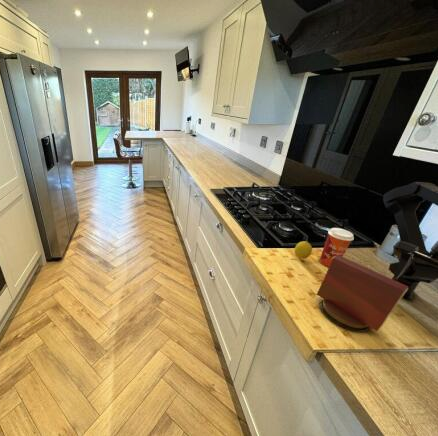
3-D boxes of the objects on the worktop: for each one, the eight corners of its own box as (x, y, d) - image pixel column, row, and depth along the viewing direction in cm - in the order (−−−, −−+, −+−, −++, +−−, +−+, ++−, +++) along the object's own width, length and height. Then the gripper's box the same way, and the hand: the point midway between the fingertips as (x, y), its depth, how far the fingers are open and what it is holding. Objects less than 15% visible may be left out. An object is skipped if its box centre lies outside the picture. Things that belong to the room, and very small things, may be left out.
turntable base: (335, 296, 76) (336, 294, 75) (378, 324, 66) (379, 322, 66) (311, 306, 72) (312, 303, 71) (353, 337, 62) (354, 335, 62)
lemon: (288, 256, 96) (294, 239, 92) (298, 253, 97) (304, 237, 94) (301, 263, 91) (307, 246, 87) (311, 261, 93) (318, 244, 89)
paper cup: (320, 267, 89) (335, 235, 83) (313, 256, 96) (325, 225, 90) (344, 271, 88) (360, 238, 82) (334, 259, 94) (349, 228, 88)
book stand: (326, 289, 77) (345, 251, 70) (385, 324, 65) (414, 281, 58) (308, 302, 72) (326, 261, 65) (369, 341, 60) (399, 297, 53)
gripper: (415, 214, 63) (372, 256, 64) (535, 251, 48) (476, 305, 49) (414, 234, 70) (375, 272, 71) (520, 273, 54) (469, 320, 55)
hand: (416, 289), depth 61 cm, fingers open, 9 cm apart
